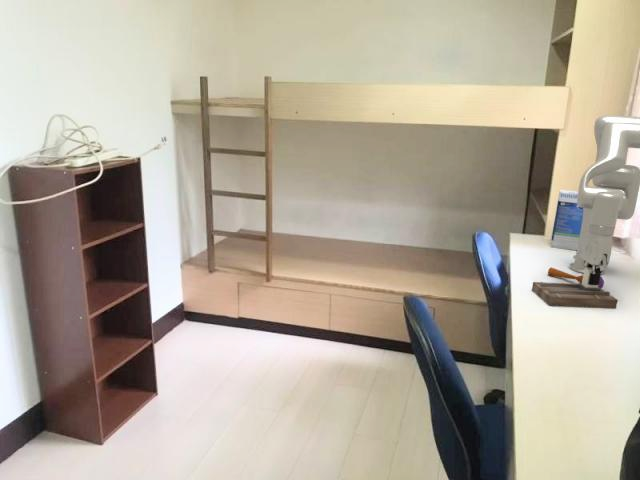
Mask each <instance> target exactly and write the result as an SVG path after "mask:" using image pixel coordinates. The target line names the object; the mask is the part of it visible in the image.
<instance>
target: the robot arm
mask: <svg viewBox="0 0 640 480" xmlns="http://www.w3.org/2000/svg"><path fill="white" fill-rule="evenodd" d="M593 132H594V139H595V143H596V157H595V161H594V163H593V164H592V165H590V166H589V167H588V168H587V169H586V170H585V171H584V172H583V174H582V175H581V177H580V180H579V186H578V190H577V191H578V195H577V203H578V205H579V206H580V207H582V208H583V219H582V226H581V231H580V236H579V241H578V246H577V251H575V255H573V256H572V257H573V259H574V262H570V263H569V266H568V267H569V269H571V270H572V271H575V272H577V273H581V274H584V269H585V267H587V268H592V273H590V278H589V283H588V284H589V285H599V280H600V276H601V275H604V274H605V272H606V271H607V270H608V265H609V263H610V260H611V255H612V248H613V237H614V235H615V234H614V233H615V229H616V224H617V220H624V221H625V220H631V219H632V218H633V216H634V213H635V211H636V206H637V201H638V196H639V192H640V168H639V167H638V166H636V165H631V164H627V158H628V157H627V156H628V153H629V152H628V151H629V149H640V116H633V115H632V116H629V115H618V114H617V115H613V114H611V115H610V114H607V115H601V116H598V117H597V118H596V119H595V121H594V127H593ZM591 180H592V184H593V186H589V183H590V181H591ZM596 268H597V269H596Z"/></svg>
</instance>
